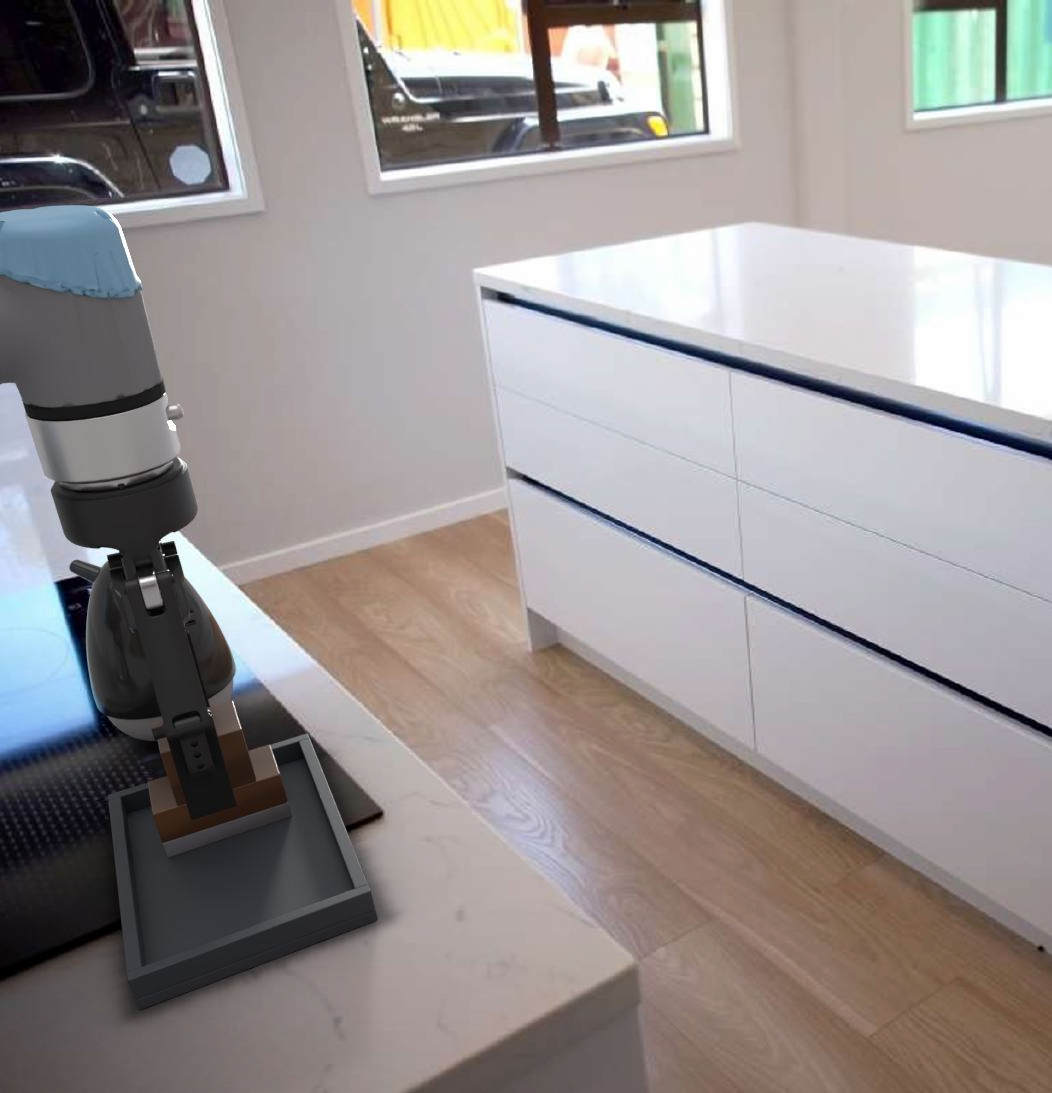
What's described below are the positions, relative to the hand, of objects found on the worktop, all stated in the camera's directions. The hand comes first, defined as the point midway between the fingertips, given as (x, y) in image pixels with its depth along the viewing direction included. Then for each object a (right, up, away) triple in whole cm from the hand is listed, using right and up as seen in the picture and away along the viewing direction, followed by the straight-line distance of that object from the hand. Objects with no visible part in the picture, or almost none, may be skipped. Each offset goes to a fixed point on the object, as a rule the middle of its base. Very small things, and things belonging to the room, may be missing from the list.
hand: (201, 760), depth 85 cm
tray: (+3, -7, -1) cm, 8 cm away
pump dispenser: (-10, 0, +16) cm, 19 cm away
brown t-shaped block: (+1, -5, +2) cm, 5 cm away
